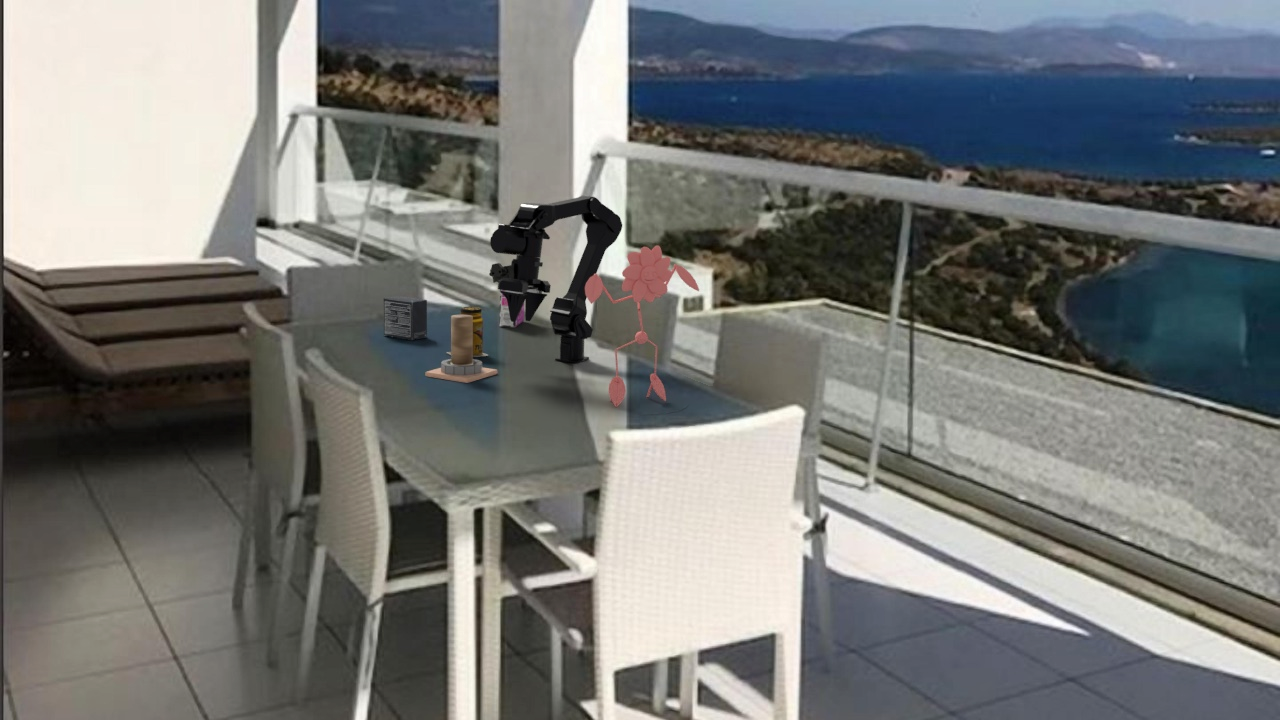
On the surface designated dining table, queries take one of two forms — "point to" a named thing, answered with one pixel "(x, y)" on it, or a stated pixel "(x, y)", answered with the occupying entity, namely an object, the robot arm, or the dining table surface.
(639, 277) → the figurine
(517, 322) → the candy bar box
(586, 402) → the dining table surface
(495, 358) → the dining table surface
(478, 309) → the condiment
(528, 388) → the dining table surface
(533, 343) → the dining table surface
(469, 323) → the brown cylinder
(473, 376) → the collar
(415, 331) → the small box
